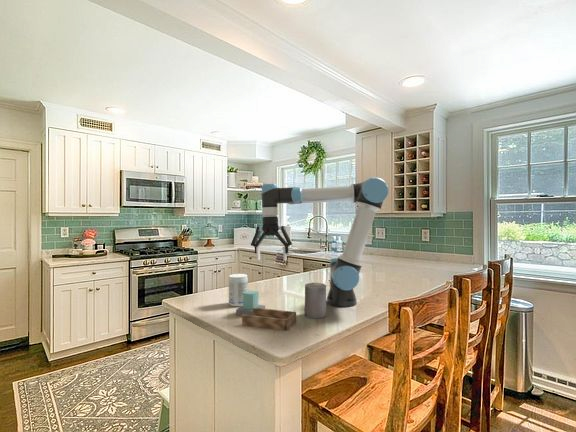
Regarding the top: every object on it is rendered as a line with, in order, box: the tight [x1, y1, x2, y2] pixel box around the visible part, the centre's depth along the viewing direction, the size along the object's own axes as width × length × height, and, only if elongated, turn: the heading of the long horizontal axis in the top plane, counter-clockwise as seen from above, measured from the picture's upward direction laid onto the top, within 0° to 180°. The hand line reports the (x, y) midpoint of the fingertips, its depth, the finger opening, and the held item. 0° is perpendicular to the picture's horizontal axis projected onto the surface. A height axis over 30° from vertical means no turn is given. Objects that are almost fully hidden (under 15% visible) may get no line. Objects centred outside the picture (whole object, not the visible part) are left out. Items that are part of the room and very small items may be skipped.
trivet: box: [235, 304, 266, 317], centre depth 145 cm, size 10×10×2 cm
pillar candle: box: [304, 281, 327, 319], centre depth 142 cm, size 10×10×15 cm
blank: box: [243, 290, 259, 310], centre depth 145 cm, size 5×6×7 cm
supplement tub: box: [228, 273, 249, 308], centre depth 158 cm, size 10×10×15 cm
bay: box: [241, 308, 297, 332], centre depth 131 cm, size 20×11×4 cm, turn 72°
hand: (271, 260), depth 150 cm, fingers open, 13 cm apart
